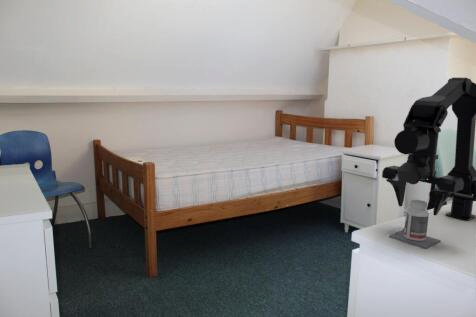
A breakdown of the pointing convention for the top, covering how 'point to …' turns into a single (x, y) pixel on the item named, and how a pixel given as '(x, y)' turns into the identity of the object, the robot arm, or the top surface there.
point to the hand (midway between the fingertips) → (417, 210)
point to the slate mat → (423, 244)
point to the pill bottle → (416, 221)
